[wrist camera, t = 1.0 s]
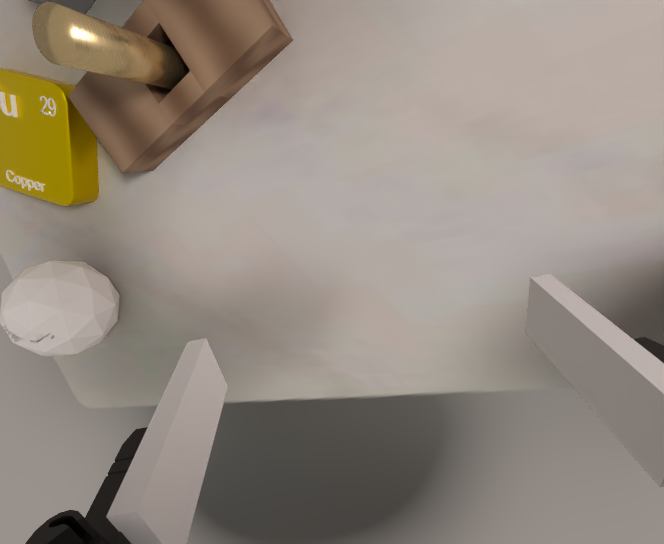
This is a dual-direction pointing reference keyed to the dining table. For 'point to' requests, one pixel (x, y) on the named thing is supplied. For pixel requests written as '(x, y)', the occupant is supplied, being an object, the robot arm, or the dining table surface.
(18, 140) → the element tile
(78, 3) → the seat block
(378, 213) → the dining table surface
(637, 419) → the robot arm
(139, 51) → the golden rounded rod
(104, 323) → the geodesic sphere
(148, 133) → the beam
